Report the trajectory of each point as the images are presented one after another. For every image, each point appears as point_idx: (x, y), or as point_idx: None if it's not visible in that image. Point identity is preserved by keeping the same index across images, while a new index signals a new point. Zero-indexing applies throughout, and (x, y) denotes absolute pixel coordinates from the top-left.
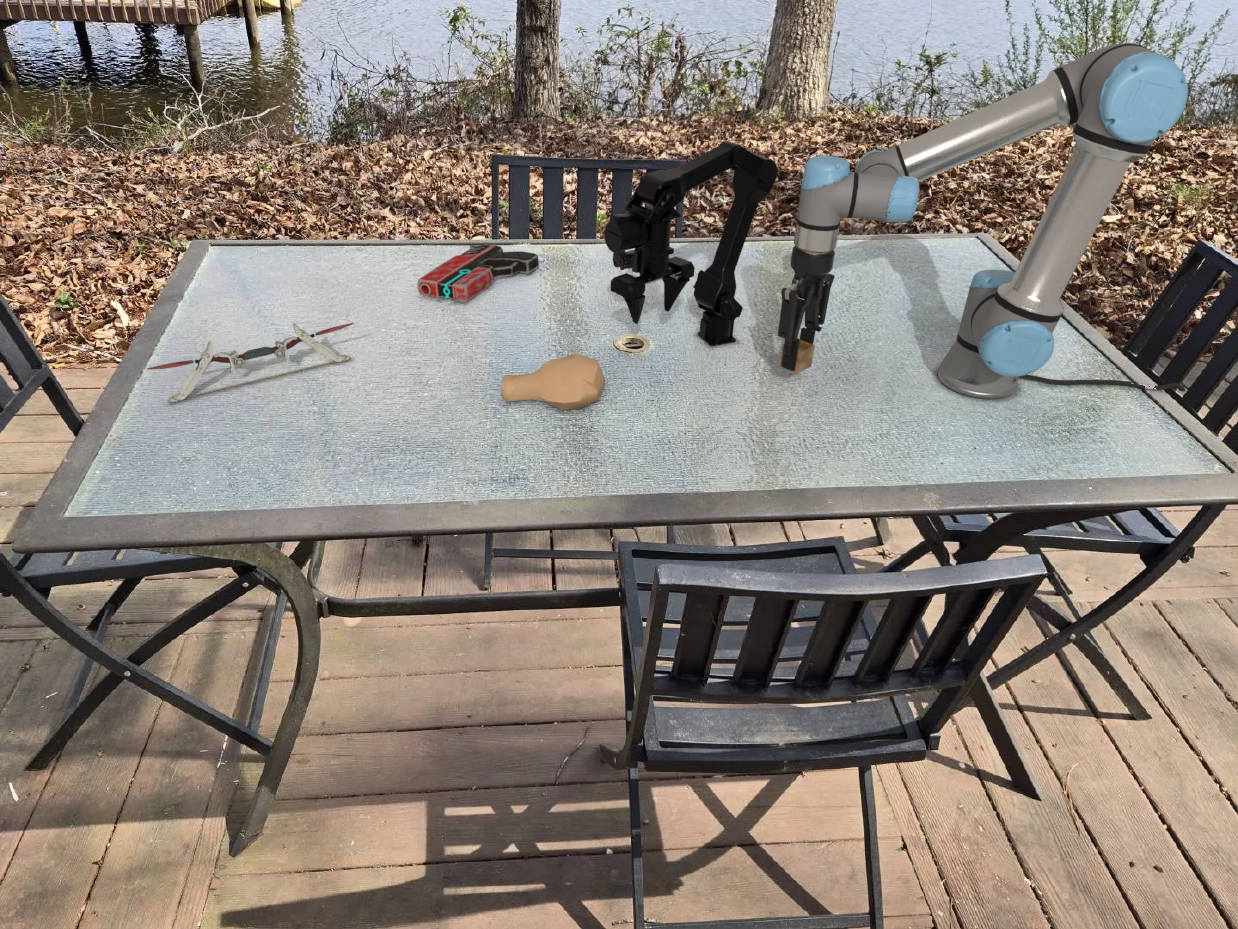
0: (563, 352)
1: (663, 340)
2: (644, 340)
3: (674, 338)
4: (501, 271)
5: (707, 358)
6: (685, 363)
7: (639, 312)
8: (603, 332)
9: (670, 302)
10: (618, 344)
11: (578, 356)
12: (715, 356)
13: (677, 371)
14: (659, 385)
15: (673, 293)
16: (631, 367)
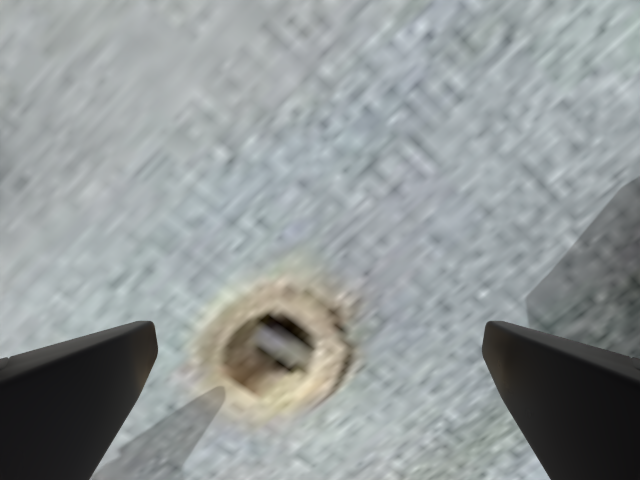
0: (506, 449)
1: (150, 302)
2: (214, 347)
3: (98, 286)
4: None
5: (93, 48)
6: (219, 87)
7: (596, 352)
8: (291, 468)
9: (111, 354)
10: (318, 382)
11: None
12: (43, 35)
13: (308, 54)
14: (481, 10)
15: (33, 406)
16: (429, 223)
